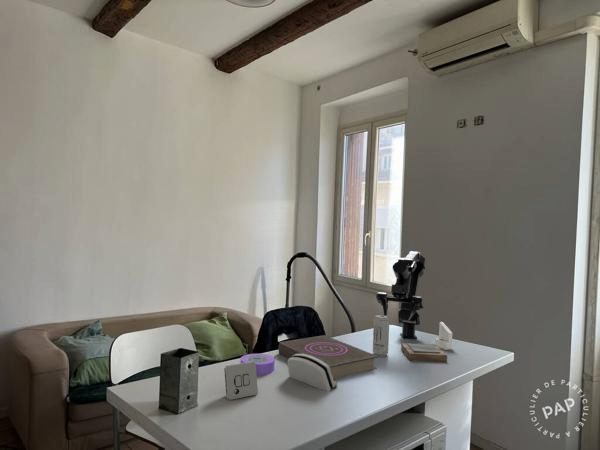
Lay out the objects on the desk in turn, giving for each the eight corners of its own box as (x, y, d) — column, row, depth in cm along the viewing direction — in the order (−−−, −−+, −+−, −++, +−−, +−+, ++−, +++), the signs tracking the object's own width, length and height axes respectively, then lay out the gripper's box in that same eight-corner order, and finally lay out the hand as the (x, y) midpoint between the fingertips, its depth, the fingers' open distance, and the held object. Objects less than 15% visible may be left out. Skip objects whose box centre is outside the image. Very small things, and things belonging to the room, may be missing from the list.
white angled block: (434, 336, 188) (442, 321, 184) (449, 353, 180) (457, 338, 176) (428, 337, 186) (436, 322, 182) (442, 354, 178) (450, 339, 174)
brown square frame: (401, 349, 176) (401, 341, 176) (435, 350, 175) (435, 343, 175) (409, 360, 162) (410, 352, 162) (446, 361, 161) (447, 353, 161)
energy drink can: (369, 354, 167) (371, 316, 167) (377, 351, 172) (378, 313, 172) (383, 358, 163) (384, 318, 163) (390, 354, 168) (392, 316, 168)
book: (376, 369, 151) (377, 355, 151) (327, 381, 139) (327, 366, 139) (324, 347, 177) (324, 335, 177) (278, 355, 164) (278, 342, 164)
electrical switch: (228, 401, 120) (228, 367, 121) (221, 396, 125) (221, 363, 125) (258, 395, 125) (258, 362, 126) (251, 390, 129) (250, 359, 130)
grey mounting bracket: (338, 387, 133) (332, 359, 130) (329, 396, 130) (323, 368, 127) (299, 373, 144) (293, 347, 142) (289, 381, 141) (283, 354, 138)
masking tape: (263, 361, 155) (263, 351, 155) (280, 371, 145) (281, 360, 145) (234, 367, 148) (234, 356, 148) (250, 378, 139) (251, 366, 139)
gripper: (376, 273, 178) (369, 308, 171) (422, 277, 170) (417, 314, 162) (382, 286, 187) (375, 319, 179) (426, 290, 178) (421, 325, 171)
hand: (396, 319), depth 172 cm, fingers open, 9 cm apart
